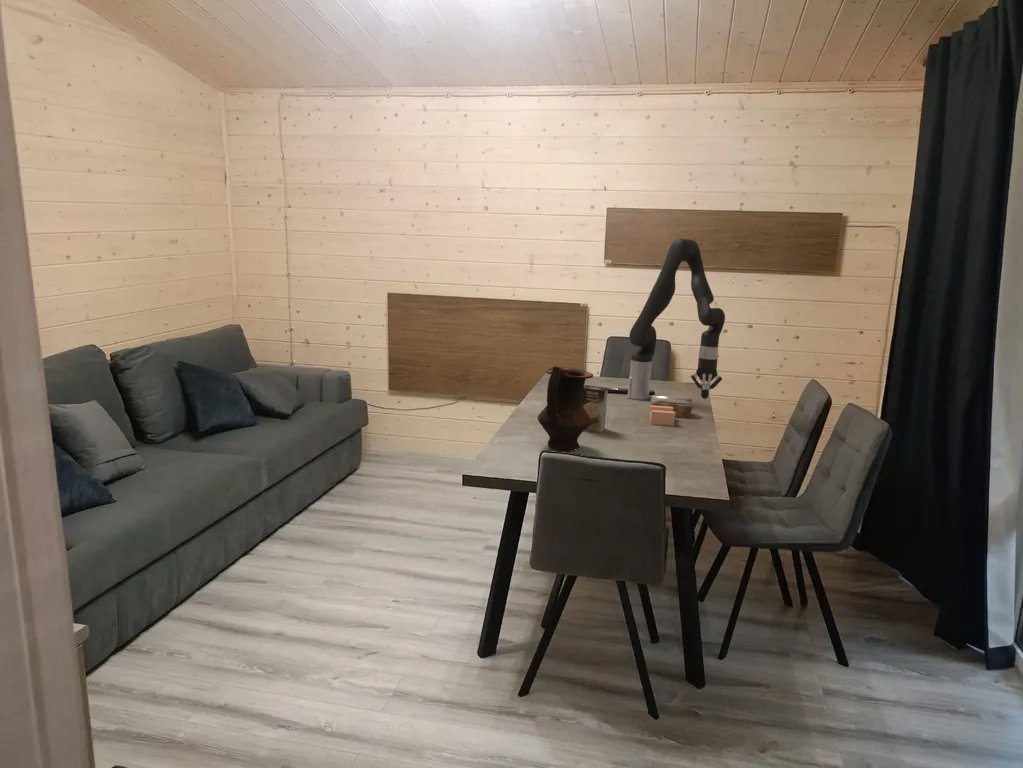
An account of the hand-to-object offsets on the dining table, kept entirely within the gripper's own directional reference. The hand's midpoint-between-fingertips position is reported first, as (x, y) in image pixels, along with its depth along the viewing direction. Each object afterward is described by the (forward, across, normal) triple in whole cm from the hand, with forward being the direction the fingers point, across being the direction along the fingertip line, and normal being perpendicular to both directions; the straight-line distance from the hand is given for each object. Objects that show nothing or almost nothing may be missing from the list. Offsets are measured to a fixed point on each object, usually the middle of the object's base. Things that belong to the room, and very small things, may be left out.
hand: (704, 398), depth 300 cm
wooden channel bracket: (+8, +13, 0) cm, 15 cm away
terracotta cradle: (+8, +18, +13) cm, 23 cm away
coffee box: (+8, +45, +32) cm, 56 cm away
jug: (+8, +56, +59) cm, 81 cm away
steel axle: (+4, +13, 0) cm, 14 cm away
